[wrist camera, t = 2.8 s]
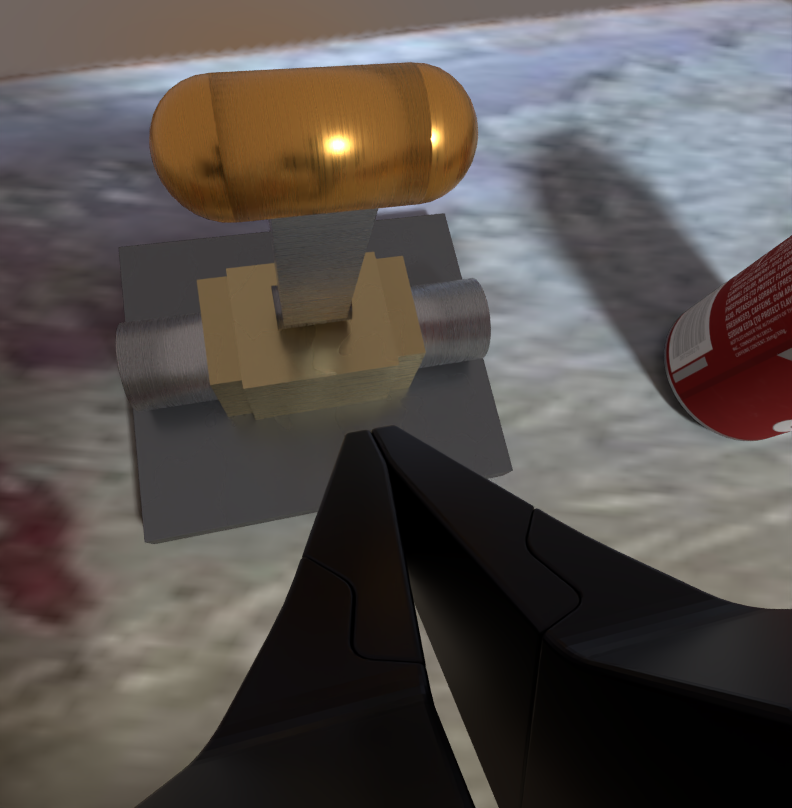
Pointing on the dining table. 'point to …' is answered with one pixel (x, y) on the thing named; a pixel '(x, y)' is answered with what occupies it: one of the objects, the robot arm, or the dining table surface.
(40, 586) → the dining table surface
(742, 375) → the soda can
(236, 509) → the valve base
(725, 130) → the dining table surface
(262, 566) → the dining table surface
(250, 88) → the lever
